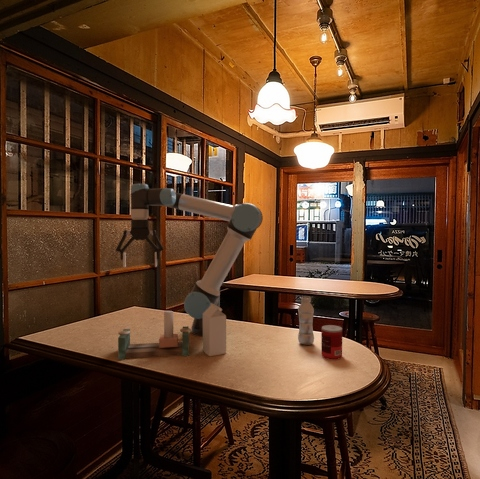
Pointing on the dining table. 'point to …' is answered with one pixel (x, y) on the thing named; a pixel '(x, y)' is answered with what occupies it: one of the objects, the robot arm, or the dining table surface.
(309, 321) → the plastic bottle
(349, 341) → the dining table surface
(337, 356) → the canned food
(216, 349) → the milk carton
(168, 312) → the carriage
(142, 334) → the dining table surface
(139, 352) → the rail board
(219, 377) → the dining table surface
